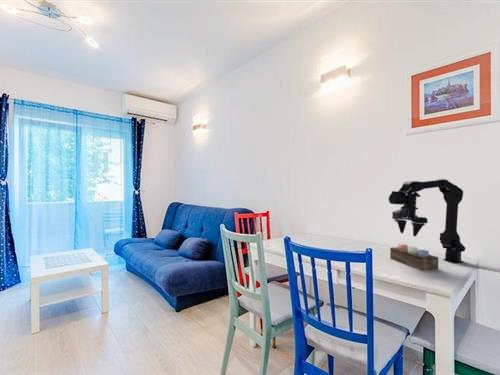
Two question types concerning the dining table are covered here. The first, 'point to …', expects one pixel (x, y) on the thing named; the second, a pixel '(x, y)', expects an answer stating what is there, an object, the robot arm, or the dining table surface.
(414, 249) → the cream button
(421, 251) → the slate button
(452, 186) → the robot arm
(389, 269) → the dining table surface
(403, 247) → the terracotta button
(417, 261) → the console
